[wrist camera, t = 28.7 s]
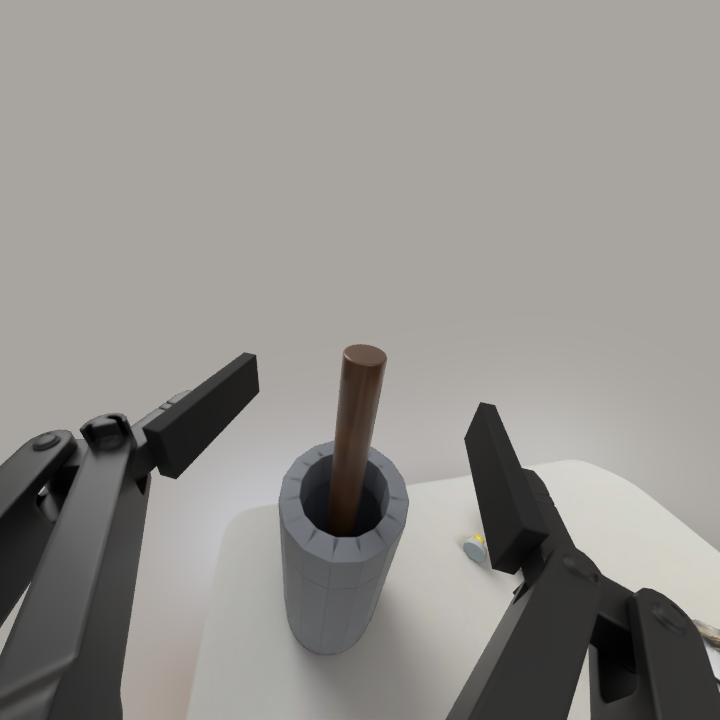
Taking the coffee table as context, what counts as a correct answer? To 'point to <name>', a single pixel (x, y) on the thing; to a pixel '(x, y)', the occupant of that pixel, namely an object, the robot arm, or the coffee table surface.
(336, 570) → the cylindrical container
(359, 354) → the long brown dowel rod
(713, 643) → the frog figurine
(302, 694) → the coffee table surface
